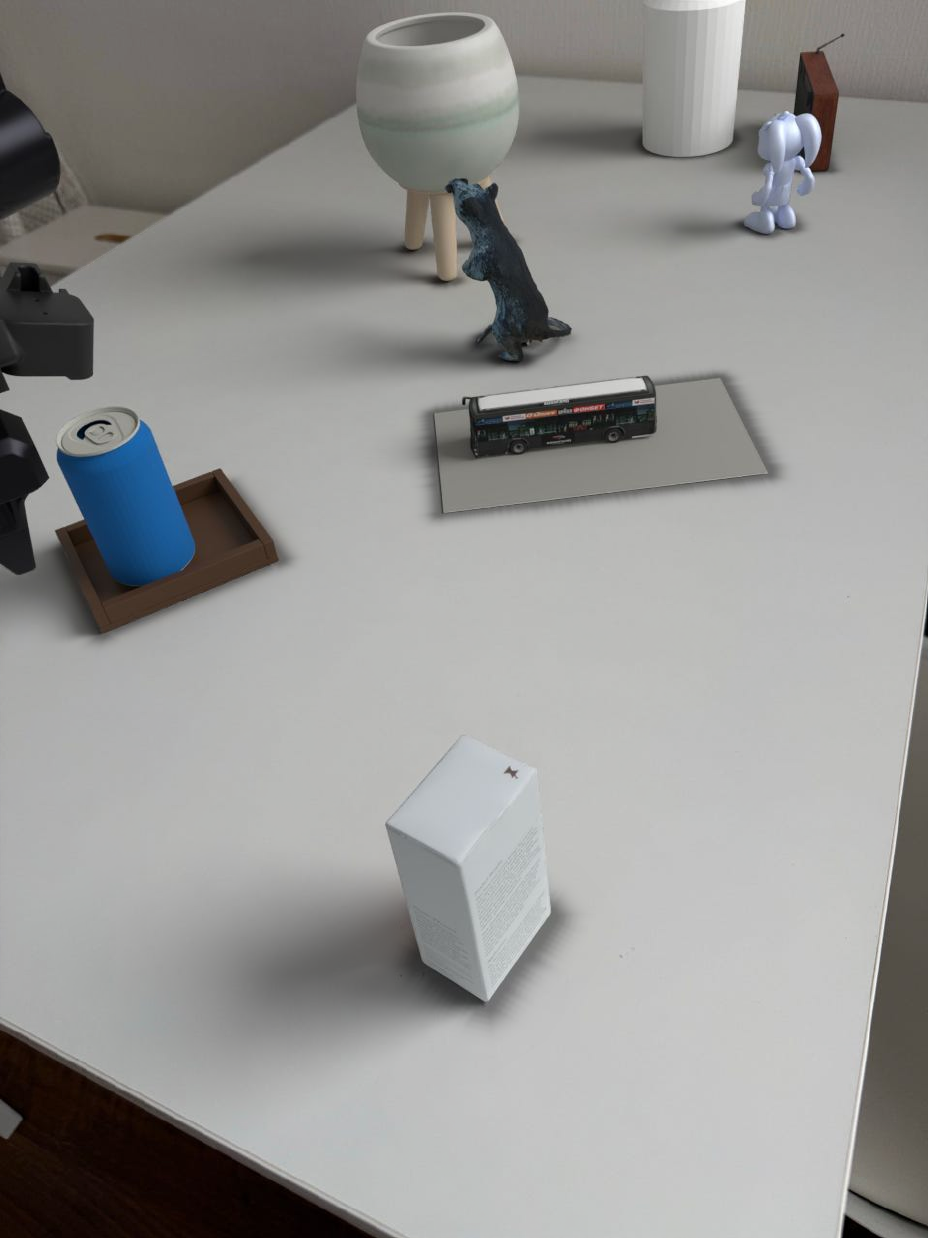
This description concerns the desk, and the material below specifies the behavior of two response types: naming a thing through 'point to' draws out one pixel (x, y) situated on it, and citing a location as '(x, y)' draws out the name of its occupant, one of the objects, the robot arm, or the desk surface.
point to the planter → (437, 114)
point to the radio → (817, 100)
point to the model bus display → (589, 441)
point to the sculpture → (502, 272)
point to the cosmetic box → (473, 864)
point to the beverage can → (125, 494)
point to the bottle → (690, 74)
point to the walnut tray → (221, 555)
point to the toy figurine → (783, 168)
